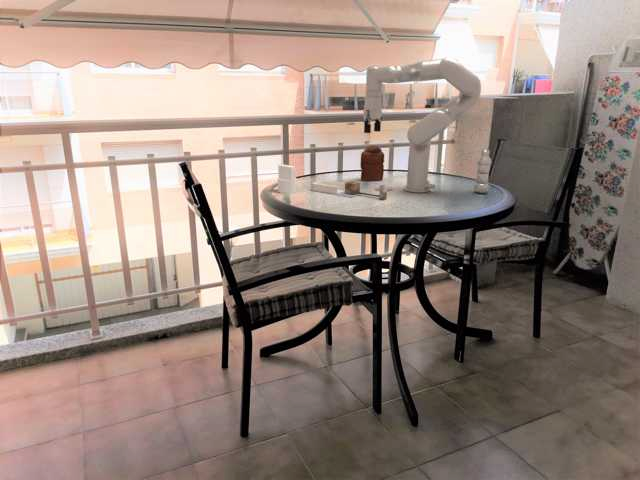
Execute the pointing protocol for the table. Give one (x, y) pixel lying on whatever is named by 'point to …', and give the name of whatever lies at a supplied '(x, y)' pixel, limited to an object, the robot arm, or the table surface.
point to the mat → (348, 194)
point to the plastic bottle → (482, 172)
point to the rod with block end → (354, 189)
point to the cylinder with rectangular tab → (287, 179)
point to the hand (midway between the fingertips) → (372, 132)
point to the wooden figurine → (372, 164)
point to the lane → (328, 187)
